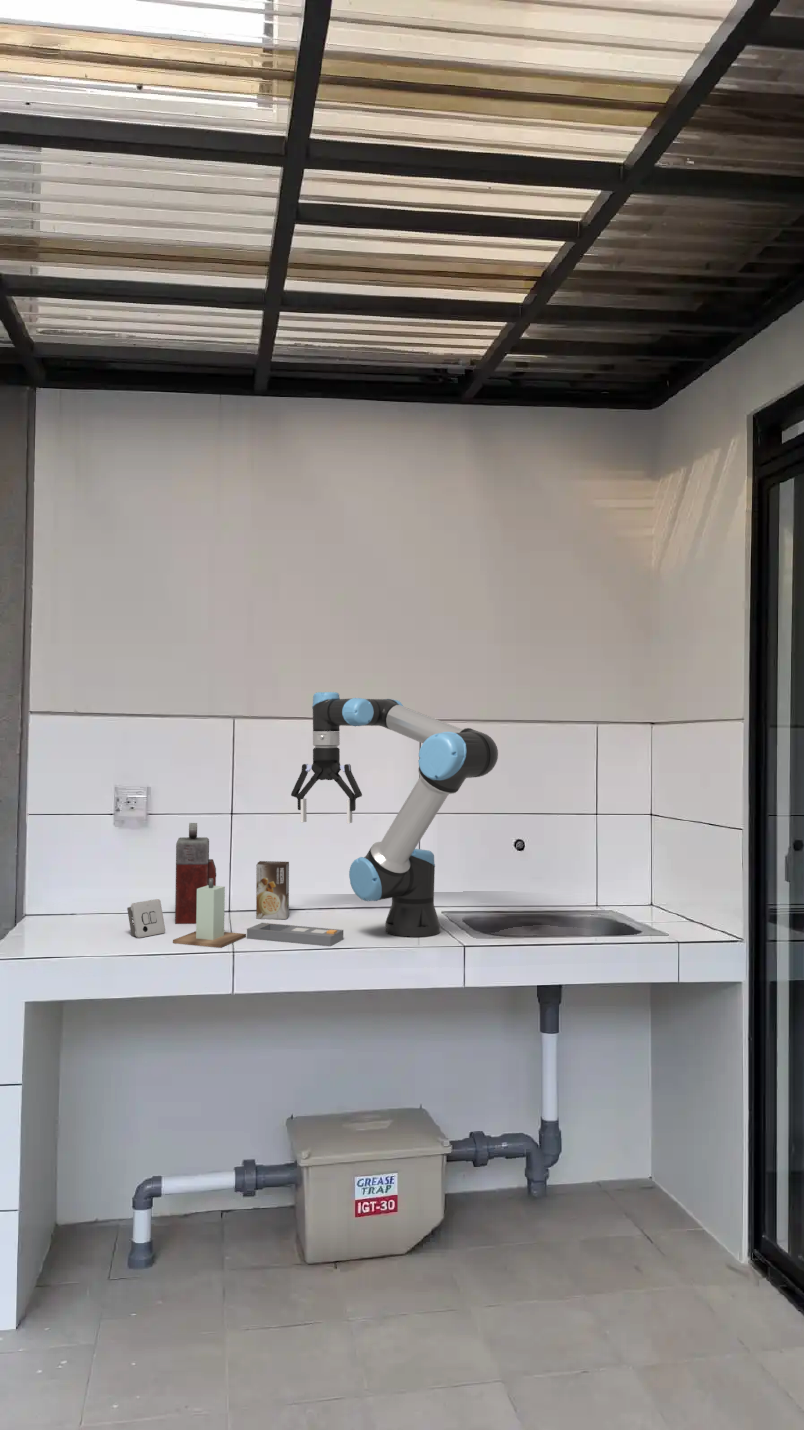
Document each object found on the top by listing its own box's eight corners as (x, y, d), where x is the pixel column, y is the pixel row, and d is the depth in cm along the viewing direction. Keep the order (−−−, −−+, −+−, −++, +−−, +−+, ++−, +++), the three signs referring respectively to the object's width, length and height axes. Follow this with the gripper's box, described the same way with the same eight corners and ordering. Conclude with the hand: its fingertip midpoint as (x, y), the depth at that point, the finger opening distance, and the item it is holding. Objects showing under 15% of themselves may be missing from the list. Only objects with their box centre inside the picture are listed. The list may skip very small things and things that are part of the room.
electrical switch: (137, 939, 288) (136, 903, 288) (125, 938, 291) (124, 903, 291) (166, 933, 295) (164, 899, 295) (153, 932, 298) (152, 898, 299)
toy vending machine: (215, 923, 309) (216, 824, 309) (175, 923, 307) (176, 824, 307) (216, 917, 318) (217, 821, 318) (176, 917, 316) (178, 821, 316)
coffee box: (289, 915, 322) (290, 861, 322) (286, 919, 316) (287, 864, 316) (258, 914, 323) (259, 860, 322) (255, 919, 316) (255, 863, 316)
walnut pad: (246, 936, 292) (246, 933, 292) (221, 947, 279) (221, 944, 279) (199, 932, 296) (199, 929, 296) (172, 943, 283) (172, 939, 283)
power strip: (343, 939, 291) (343, 928, 291) (330, 946, 283) (330, 934, 283) (261, 931, 299) (261, 920, 299) (246, 938, 290) (247, 927, 290)
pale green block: (224, 935, 290) (224, 877, 289) (213, 940, 284) (214, 880, 284) (207, 933, 291) (208, 876, 291) (196, 938, 286) (196, 879, 285)
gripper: (279, 747, 307) (280, 822, 307) (365, 747, 300) (365, 824, 300) (289, 746, 314) (289, 820, 314) (372, 746, 308) (372, 822, 308)
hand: (326, 822), depth 307 cm, fingers open, 13 cm apart
